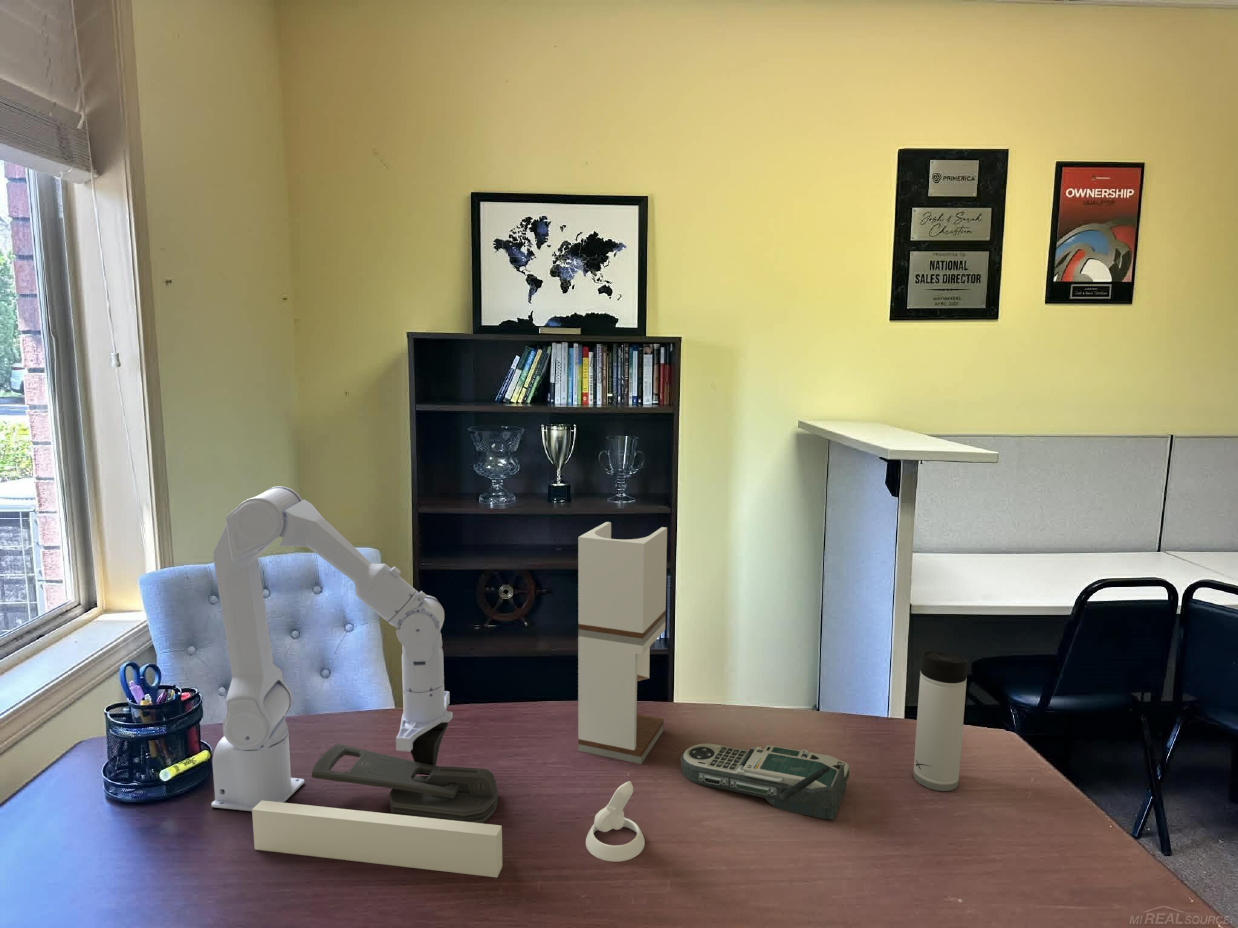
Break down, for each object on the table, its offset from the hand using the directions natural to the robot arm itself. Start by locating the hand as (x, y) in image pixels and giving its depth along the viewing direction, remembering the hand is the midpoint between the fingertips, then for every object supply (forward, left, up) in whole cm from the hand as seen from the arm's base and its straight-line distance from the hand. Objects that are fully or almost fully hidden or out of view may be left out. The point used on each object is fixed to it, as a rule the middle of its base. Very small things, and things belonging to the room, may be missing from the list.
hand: (426, 772), depth 110 cm
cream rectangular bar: (0, -15, -2) cm, 15 cm away
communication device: (+48, +9, -3) cm, 49 cm away
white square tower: (+26, +18, -3) cm, 32 cm away
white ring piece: (+29, -8, -3) cm, 30 cm away
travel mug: (+74, +14, -3) cm, 75 cm away
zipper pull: (-1, -4, -3) cm, 5 cm away
